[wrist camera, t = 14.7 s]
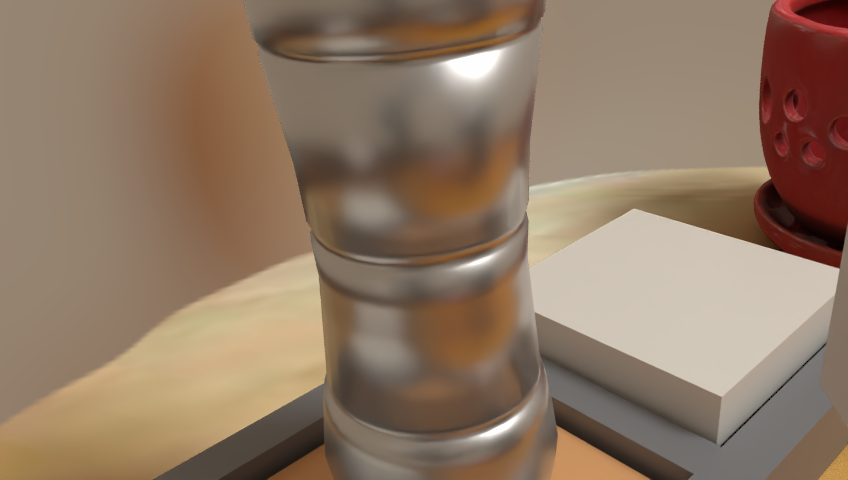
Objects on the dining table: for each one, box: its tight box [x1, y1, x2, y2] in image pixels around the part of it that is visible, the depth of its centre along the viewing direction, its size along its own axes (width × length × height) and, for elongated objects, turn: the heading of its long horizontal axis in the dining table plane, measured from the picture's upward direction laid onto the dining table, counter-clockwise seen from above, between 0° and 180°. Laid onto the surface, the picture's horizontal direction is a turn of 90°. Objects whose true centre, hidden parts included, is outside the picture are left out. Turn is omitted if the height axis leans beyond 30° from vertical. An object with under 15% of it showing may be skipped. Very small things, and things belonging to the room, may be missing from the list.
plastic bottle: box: [243, 0, 558, 480], centre depth 18 cm, size 6×7×20 cm
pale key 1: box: [529, 209, 840, 446], centre depth 28 cm, size 9×9×2 cm
